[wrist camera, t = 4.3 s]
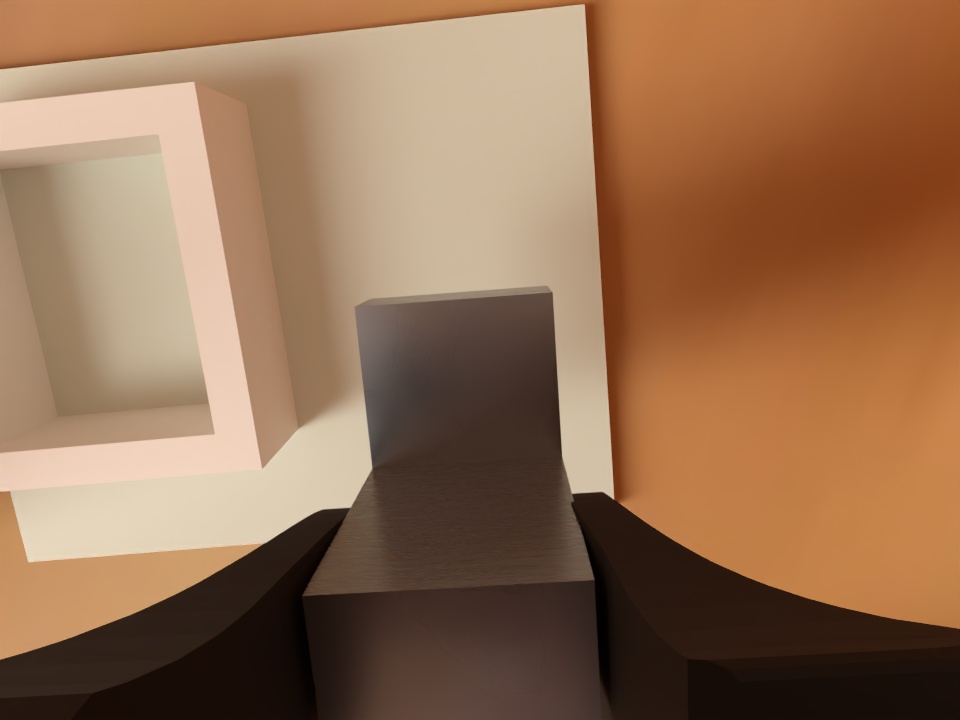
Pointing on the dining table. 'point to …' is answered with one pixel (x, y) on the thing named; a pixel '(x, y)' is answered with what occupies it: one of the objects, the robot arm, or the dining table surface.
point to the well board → (272, 263)
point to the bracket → (458, 526)
